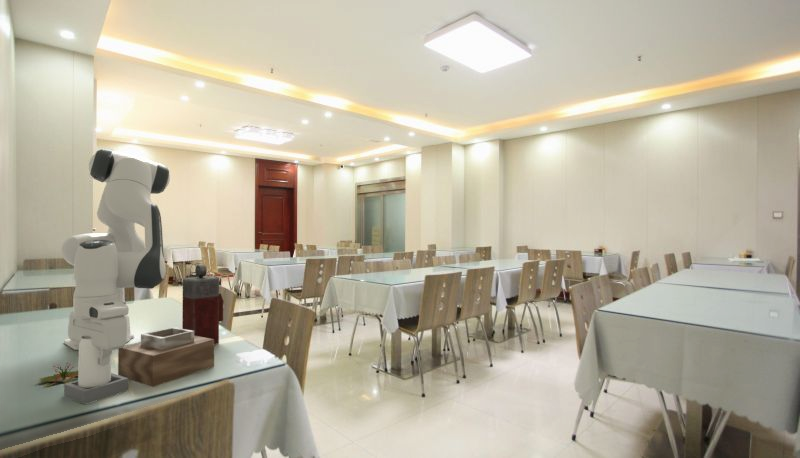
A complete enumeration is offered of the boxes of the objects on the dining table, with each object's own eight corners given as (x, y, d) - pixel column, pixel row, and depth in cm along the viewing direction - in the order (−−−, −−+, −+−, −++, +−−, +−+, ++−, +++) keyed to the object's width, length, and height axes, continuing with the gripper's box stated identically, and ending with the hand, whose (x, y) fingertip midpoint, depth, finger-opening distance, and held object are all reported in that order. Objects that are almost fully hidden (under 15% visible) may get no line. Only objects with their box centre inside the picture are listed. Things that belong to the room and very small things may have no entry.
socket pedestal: (118, 376, 112) (118, 336, 112) (180, 358, 128) (180, 323, 128) (152, 386, 105) (153, 343, 105) (214, 366, 121) (214, 329, 121)
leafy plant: (85, 369, 119) (85, 354, 119) (97, 379, 111) (97, 362, 111) (29, 381, 109) (30, 364, 109) (38, 393, 102) (38, 374, 102)
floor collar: (63, 396, 99) (63, 384, 99) (107, 383, 107) (107, 371, 107) (84, 404, 94) (84, 391, 94) (128, 390, 102) (128, 378, 102)
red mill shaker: (225, 341, 147) (225, 264, 147) (193, 348, 138) (193, 266, 139) (213, 337, 153) (213, 263, 153) (181, 344, 144) (182, 264, 144)
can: (91, 390, 97) (92, 339, 97) (71, 387, 98) (72, 337, 98) (117, 381, 103) (118, 333, 103) (97, 378, 105) (98, 331, 105)
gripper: (60, 304, 103) (59, 358, 103) (103, 312, 93) (103, 373, 93) (88, 300, 108) (88, 352, 108) (132, 308, 99) (132, 365, 99)
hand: (95, 362), depth 101 cm, fingers closed on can, 6 cm apart
